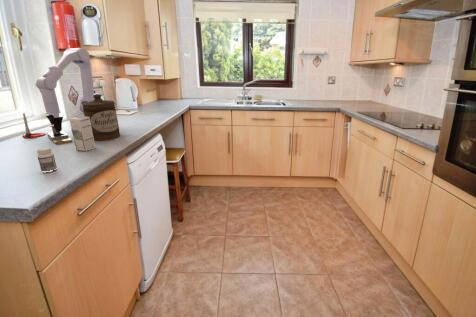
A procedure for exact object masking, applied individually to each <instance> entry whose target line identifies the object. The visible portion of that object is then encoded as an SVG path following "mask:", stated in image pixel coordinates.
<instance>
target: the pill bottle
mask: <svg viewBox="0 0 476 317" xmlns="http://www.w3.org/2000/svg"><path fill="white" fill-rule="evenodd" d="M36 152H37V154H38V155H37V160H38V163H39V164H38V165H39V168H40V170H41V172H42V171H50V170H54V169H56V168H57V169H58V166H57V163H56V159H55V155H54V153H53V152H52V148H51V147H50V146H46V147H40V148H37V149H36Z"/></svg>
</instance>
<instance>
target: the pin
mask: <svg viewBox="0 0 476 317" xmlns="http://www.w3.org/2000/svg"><path fill="white" fill-rule="evenodd" d="M49 127H50V128H51V130H52V132H53V135H54V136H60V135H61V132H60V131H58V132H57V131H56V130H55V127H54V125H53V124H52V125H51V124H50V125H49Z"/></svg>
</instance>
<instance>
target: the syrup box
mask: <svg viewBox="0 0 476 317" xmlns="http://www.w3.org/2000/svg"><path fill="white" fill-rule="evenodd" d="M68 120H69V124H70V127H71V132H72V133H71V134H72V136H73V141H74V146H75V150H76V151H77V150H81V151H80V152H88V151H87V150H89V151H91V150H90V149H92V150H94V149H93V148H95V149H97V148H96V141H94V137H93V132H92V127H91V123H90V118H89V117H84V116H80V115H79V116H73V117H70V118H68Z"/></svg>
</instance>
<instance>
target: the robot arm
mask: <svg viewBox="0 0 476 317" xmlns="http://www.w3.org/2000/svg"><path fill="white" fill-rule="evenodd" d="M71 63H74V64H75V65H77V66H78V67H79V68H80V79H81V89H82V98H80V100H79V102H80V104H79V110H80V112H81V113H82V115H84V111H83V107H82V103H84V102H89V101H93V100H94V99H95V98H94V97H93V96H94V95H95V93H94V92H95V91H94V82H93V70H92V63H91V59H90V53H89V52H88V50H86V48H85V47H75V48H70V47H68V48H66V49H65V50H64V51H63V54H62V56H61V58H60V59H59V60H58V61H57V63H56V64H55V65H51V66H50V65H49V67H48V69H47V70H46V72H45V73H43V74H42V76H40V77H38V78H37V79H36V82H35V87H36V88H37V89H38V90H39V93H40V94H41V98H42V102H43V105H44V110H45V112H43V113H42V114H43V115H45V117H46V119H47V120H48V121H49V123H50V125H52V124H53V125H54V127H55V130H56V131H57V132H58V131H63V128H62V125H63V123H62V122H63V119H64V117H63V116H60V113H61V109H60V107H59V102H58V98H57V95H56V90H55V89H56V88H57V86H58V85H57V84H58V83H57V82H58V81H59V80H60V79H61V77H62V76H63V75H64V70H65V69H66V68H67V67H68V66H69V65H70V64H71Z"/></svg>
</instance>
